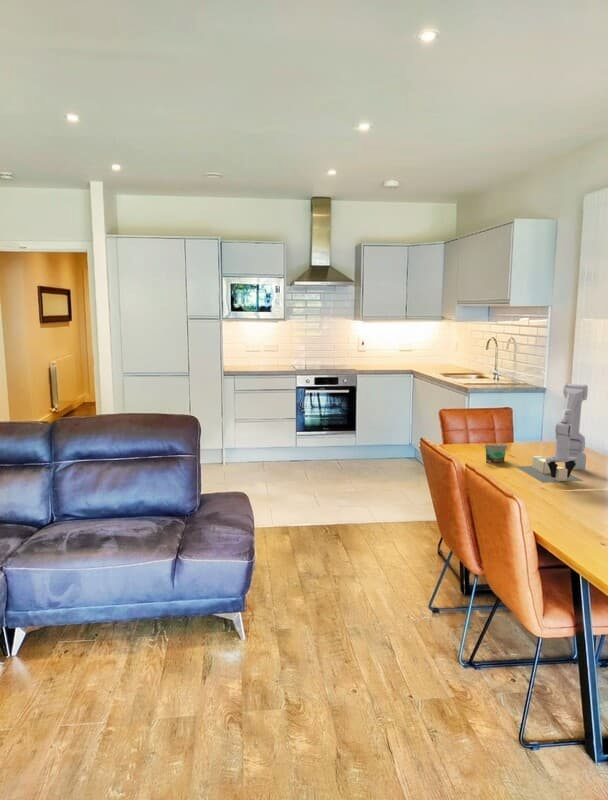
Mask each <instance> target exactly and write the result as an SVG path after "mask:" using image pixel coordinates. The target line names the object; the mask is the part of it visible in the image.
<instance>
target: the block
mask: <svg viewBox="0 0 608 800" xmlns="http://www.w3.org/2000/svg"><path fill="white" fill-rule="evenodd" d="M567 471H568V469H566V468H564V467H563V466H557V469H556V477H555V478H554V479H555V480H557V481H567ZM552 478H553V477H552Z"/></svg>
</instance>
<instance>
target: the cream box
mask: <svg viewBox="0 0 608 800" xmlns="http://www.w3.org/2000/svg"><path fill="white" fill-rule="evenodd" d="M531 464H532V465H531V466H532V467H533V468H535V469H536V470H538V471H540V472H542V473H544V474H547V473H551V471H550V468H549V466H548V464H547V462H546V457H543V456H542V455H539V456H538V455H537V456H535V455H534V456H532V462H531Z"/></svg>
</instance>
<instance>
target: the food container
mask: <svg viewBox="0 0 608 800" xmlns="http://www.w3.org/2000/svg"><path fill="white" fill-rule="evenodd" d="M484 449H485V462H486V463H487V464H490V465H491V463H492V464H494V463H495V464H502V463H505V457H506V451H507V449H508V445H507V443H506V442H504V443H503V444H487V443H486V444H485V445H484Z"/></svg>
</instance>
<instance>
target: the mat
mask: <svg viewBox="0 0 608 800" xmlns="http://www.w3.org/2000/svg"><path fill="white" fill-rule="evenodd" d="M515 468H517V469H518V470H520V471H522V472H524V473H526V474H527V475H529V476H530V477H533V478H534V479H535V480H537V481H539V482H541V483H543V484H545V483H568V482H569V483H570V482H571V483H572V482H584V480H583V479H581V478H579V477H577V476H575V475H573V474H571V473H570V476H569V477H567V481H557V480H555V479H554V478H552V477H551V473H547V474H544V473H542V472H540V471H538V470H536V469H535V468H533V467H532V465H522V466H521V465H520V466H519V465H518V466H515Z"/></svg>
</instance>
